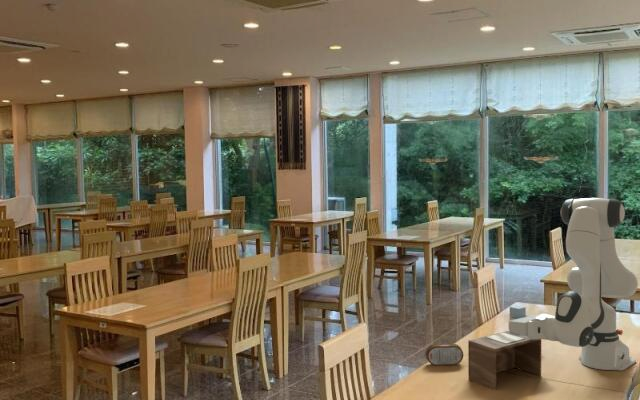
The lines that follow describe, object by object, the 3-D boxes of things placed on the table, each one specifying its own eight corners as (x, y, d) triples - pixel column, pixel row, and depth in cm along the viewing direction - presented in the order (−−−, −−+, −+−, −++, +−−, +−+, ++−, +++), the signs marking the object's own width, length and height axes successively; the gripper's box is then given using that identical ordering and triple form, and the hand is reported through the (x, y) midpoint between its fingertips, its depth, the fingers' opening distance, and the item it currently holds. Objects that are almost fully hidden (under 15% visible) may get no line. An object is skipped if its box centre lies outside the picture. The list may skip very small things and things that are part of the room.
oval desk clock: (462, 362, 258) (462, 342, 257) (464, 365, 255) (464, 344, 254) (425, 364, 257) (425, 343, 257) (427, 366, 254) (426, 346, 254)
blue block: (516, 331, 237) (516, 305, 236) (525, 334, 233) (525, 307, 233) (509, 333, 235) (509, 306, 234) (518, 335, 231) (518, 308, 231)
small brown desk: (514, 366, 252) (514, 328, 251) (541, 375, 242) (541, 335, 241) (468, 379, 239) (468, 339, 238) (494, 389, 228) (494, 348, 227)
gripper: (565, 313, 228) (533, 305, 240) (528, 322, 217) (496, 314, 229) (565, 330, 229) (533, 322, 240) (528, 340, 218) (496, 331, 229)
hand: (515, 318), depth 234 cm, fingers closed on blue block, 4 cm apart
